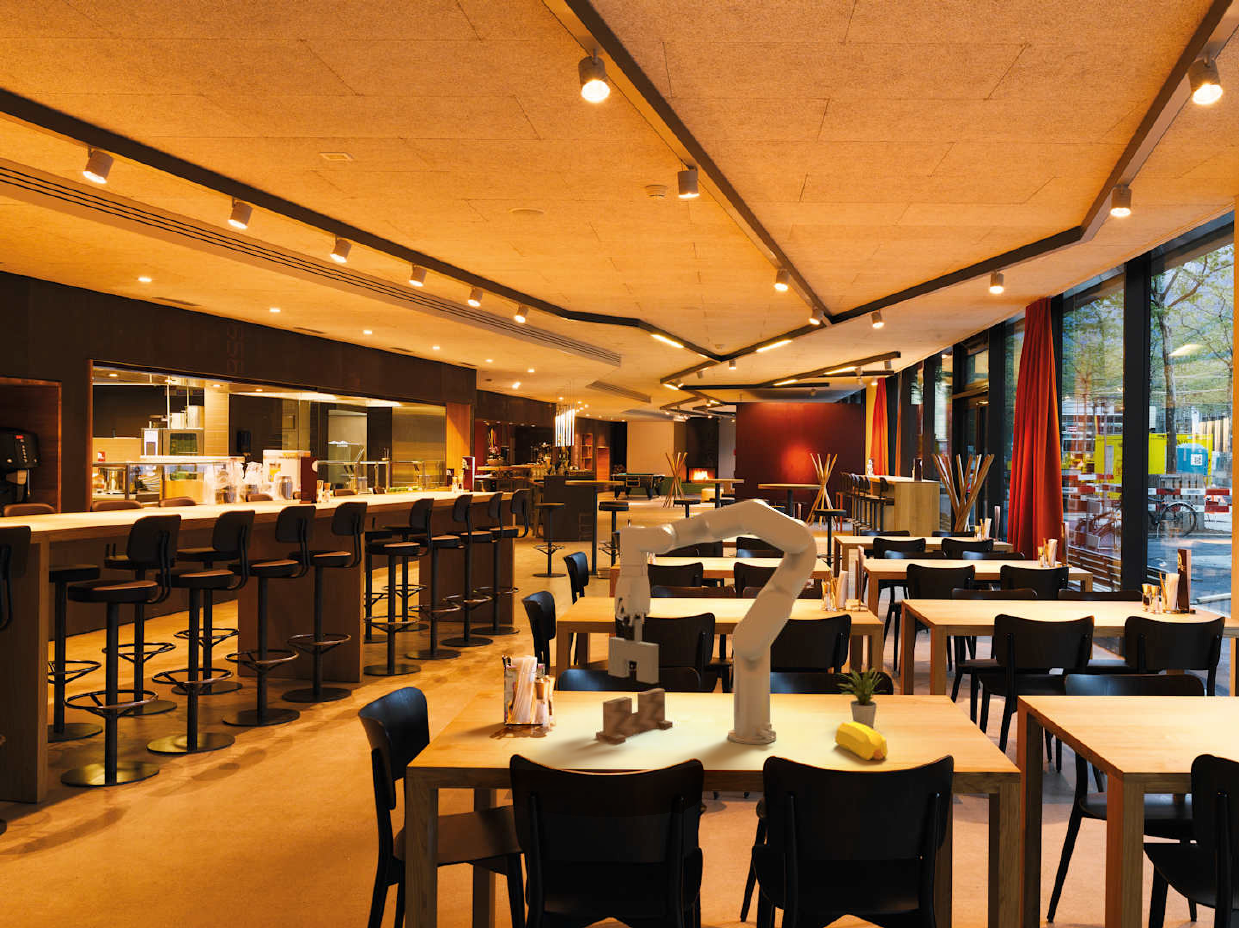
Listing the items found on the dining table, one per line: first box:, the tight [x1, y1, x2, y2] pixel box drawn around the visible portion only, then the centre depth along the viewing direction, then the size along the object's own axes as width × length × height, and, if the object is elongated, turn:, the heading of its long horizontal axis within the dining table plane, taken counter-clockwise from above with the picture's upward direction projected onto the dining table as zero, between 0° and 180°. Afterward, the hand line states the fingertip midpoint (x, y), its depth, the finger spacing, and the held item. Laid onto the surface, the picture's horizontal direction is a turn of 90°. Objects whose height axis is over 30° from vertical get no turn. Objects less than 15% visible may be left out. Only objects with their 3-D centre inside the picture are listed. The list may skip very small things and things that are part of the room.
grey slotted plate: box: [607, 617, 659, 685], centre depth 257 cm, size 16×2×16 cm, turn 47°
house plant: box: [837, 667, 886, 729], centre depth 264 cm, size 14×14×16 cm
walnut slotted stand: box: [595, 687, 674, 745], centre depth 257 cm, size 22×8×10 cm, turn 137°
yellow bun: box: [834, 721, 889, 761], centre depth 238 cm, size 18×7×8 cm
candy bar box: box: [503, 663, 546, 725], centre depth 267 cm, size 11×5×16 cm, turn 92°
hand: (633, 638), depth 257 cm, fingers closed on grey slotted plate, 2 cm apart
